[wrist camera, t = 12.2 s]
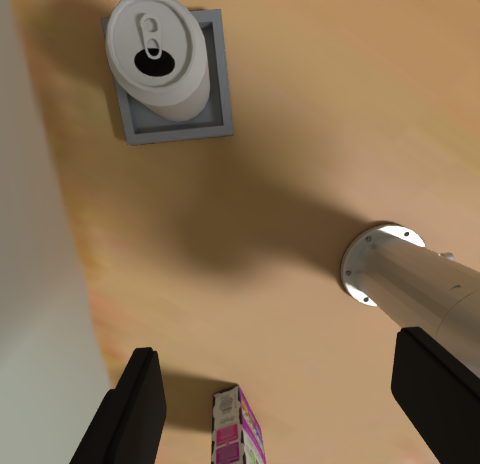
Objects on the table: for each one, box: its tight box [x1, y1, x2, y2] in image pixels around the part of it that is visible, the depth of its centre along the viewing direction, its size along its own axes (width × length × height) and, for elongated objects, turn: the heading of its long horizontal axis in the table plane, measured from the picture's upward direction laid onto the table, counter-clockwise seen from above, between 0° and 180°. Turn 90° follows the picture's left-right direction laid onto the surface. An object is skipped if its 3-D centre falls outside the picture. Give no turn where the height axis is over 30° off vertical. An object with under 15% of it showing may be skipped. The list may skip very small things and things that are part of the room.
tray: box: [101, 9, 233, 146], centre depth 29 cm, size 12×12×2 cm
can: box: [105, 0, 210, 122], centre depth 24 cm, size 8×8×12 cm
